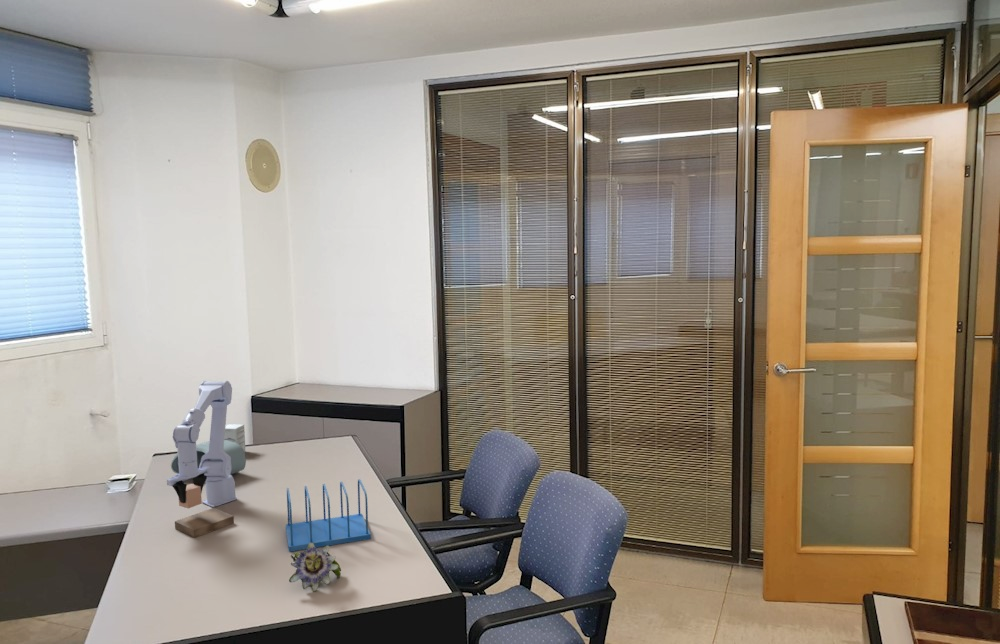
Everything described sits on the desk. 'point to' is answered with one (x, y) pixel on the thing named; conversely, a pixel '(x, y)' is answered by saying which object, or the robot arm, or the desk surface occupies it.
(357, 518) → the file sorter
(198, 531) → the block
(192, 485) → the terracotta block
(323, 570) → the passion flower
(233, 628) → the desk surface
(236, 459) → the green rounded shell
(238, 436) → the supplement box
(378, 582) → the desk surface
